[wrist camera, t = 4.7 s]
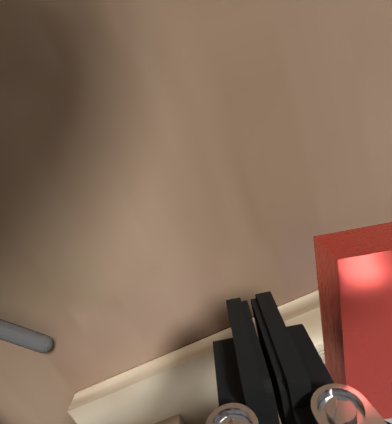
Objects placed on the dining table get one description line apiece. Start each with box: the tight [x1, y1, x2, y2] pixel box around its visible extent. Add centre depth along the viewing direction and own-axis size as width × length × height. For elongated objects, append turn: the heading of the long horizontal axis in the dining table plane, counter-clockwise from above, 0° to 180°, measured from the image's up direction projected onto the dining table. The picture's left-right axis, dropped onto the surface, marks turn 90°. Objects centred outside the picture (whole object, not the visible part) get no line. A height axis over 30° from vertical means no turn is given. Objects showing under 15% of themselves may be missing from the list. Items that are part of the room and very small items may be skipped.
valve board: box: [68, 290, 323, 424], centre depth 21 cm, size 12×30×3 cm, turn 116°
